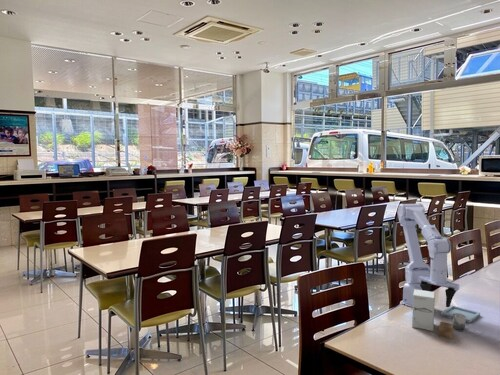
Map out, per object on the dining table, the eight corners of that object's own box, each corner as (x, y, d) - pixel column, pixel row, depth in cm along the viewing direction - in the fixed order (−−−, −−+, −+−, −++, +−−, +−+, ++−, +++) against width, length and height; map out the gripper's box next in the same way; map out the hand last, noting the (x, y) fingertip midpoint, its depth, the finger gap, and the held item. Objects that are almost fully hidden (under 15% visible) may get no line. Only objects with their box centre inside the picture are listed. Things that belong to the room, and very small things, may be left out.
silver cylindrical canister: (450, 328, 140) (451, 315, 139) (455, 325, 142) (455, 312, 142) (462, 332, 137) (463, 318, 136) (466, 328, 139) (467, 315, 139)
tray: (441, 315, 151) (441, 312, 151) (451, 308, 158) (451, 305, 158) (470, 323, 144) (470, 320, 143) (480, 315, 150) (480, 312, 150)
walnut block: (438, 336, 134) (439, 325, 133) (440, 332, 137) (440, 321, 137) (451, 339, 131) (452, 328, 131) (452, 334, 135) (453, 324, 135)
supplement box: (411, 327, 141) (412, 294, 140) (413, 320, 147) (413, 288, 146) (433, 331, 137) (434, 297, 136) (434, 323, 144) (435, 291, 143)
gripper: (415, 267, 148) (414, 301, 149) (454, 275, 138) (453, 312, 139) (423, 264, 153) (422, 296, 154) (461, 271, 142) (460, 306, 143)
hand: (437, 303), depth 147 cm, fingers open, 7 cm apart
